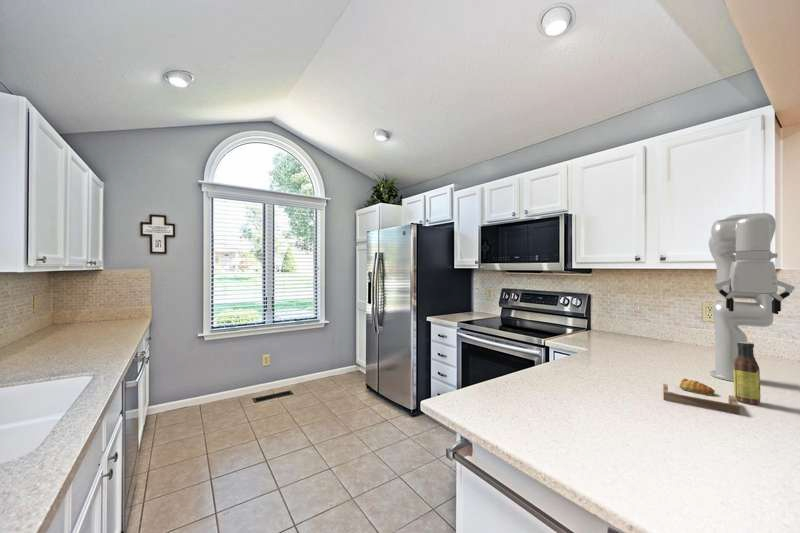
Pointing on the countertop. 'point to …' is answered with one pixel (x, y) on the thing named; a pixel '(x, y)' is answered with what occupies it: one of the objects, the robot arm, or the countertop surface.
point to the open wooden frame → (703, 402)
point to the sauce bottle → (746, 375)
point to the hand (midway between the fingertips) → (752, 312)
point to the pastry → (696, 387)
